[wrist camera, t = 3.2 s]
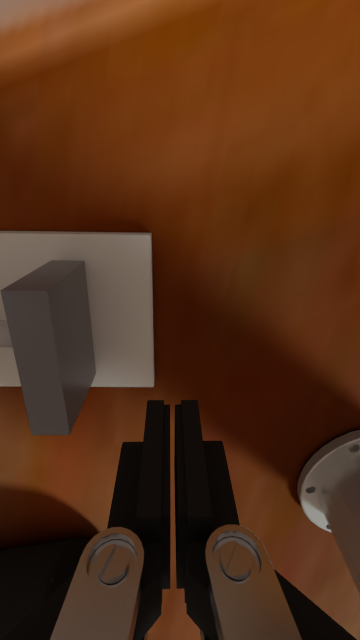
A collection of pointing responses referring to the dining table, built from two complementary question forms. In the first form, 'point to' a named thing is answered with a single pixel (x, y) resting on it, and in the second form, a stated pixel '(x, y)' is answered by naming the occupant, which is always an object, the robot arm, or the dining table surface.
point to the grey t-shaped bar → (51, 343)
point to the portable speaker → (34, 577)
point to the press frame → (95, 297)
